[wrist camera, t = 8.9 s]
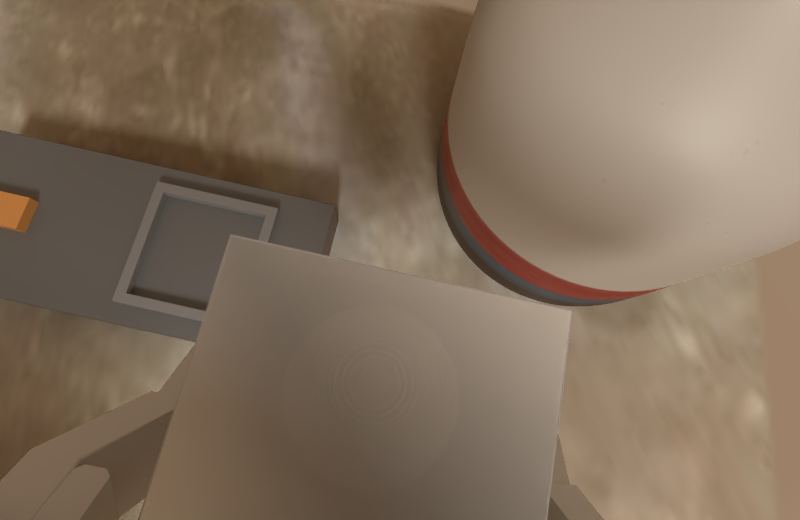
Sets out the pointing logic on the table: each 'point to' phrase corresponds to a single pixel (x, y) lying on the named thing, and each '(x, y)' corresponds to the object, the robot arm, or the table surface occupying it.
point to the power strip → (131, 234)
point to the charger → (361, 397)
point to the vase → (622, 142)
